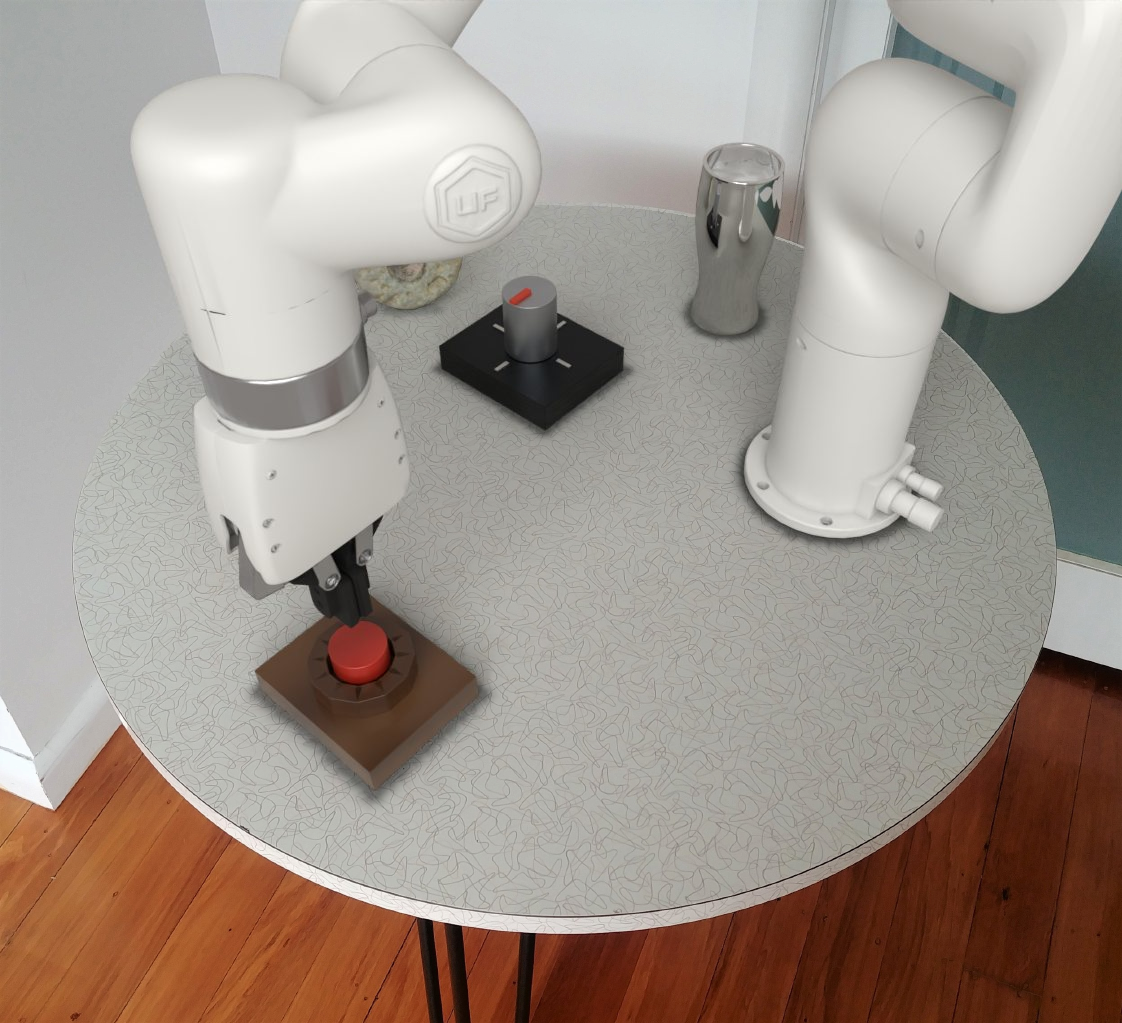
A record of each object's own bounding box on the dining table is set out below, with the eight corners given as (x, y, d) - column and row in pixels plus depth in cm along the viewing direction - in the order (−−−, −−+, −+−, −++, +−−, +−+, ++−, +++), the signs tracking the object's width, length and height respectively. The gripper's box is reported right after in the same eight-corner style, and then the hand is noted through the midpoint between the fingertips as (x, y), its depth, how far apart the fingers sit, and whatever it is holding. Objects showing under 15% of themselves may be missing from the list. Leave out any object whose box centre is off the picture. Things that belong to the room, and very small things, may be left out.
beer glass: (725, 349, 92) (746, 194, 81) (669, 313, 96) (682, 160, 85) (779, 317, 95) (806, 164, 84) (722, 283, 99) (741, 132, 88)
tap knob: (528, 323, 91) (525, 266, 87) (568, 343, 89) (567, 285, 85) (494, 348, 89) (490, 291, 84) (534, 369, 87) (532, 311, 83)
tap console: (623, 370, 91) (624, 346, 89) (545, 431, 86) (544, 406, 84) (520, 315, 96) (519, 290, 94) (441, 368, 91) (438, 344, 89)
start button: (402, 658, 66) (399, 641, 65) (359, 695, 64) (354, 678, 63) (364, 627, 68) (360, 611, 66) (320, 663, 66) (315, 646, 65)
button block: (479, 695, 68) (475, 659, 66) (374, 791, 64) (365, 757, 61) (365, 606, 73) (356, 569, 71) (261, 689, 69) (247, 654, 66)
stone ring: (355, 317, 96) (337, 219, 89) (356, 294, 98) (339, 197, 91) (467, 309, 97) (458, 212, 89) (466, 287, 99) (457, 190, 92)
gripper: (354, 261, 54) (395, 507, 68) (95, 406, 46) (200, 652, 60) (458, 319, 51) (480, 566, 64) (197, 487, 43) (284, 728, 56)
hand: (345, 607), depth 62 cm, fingers closed
